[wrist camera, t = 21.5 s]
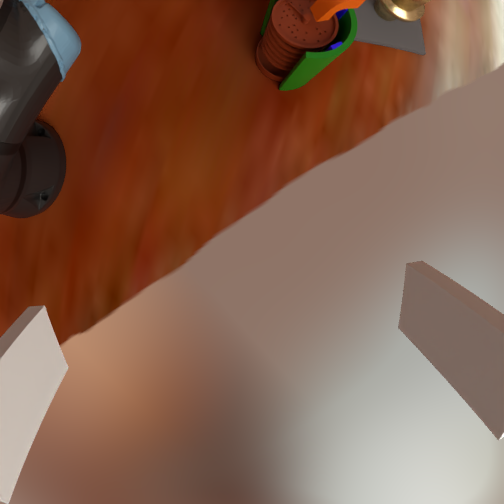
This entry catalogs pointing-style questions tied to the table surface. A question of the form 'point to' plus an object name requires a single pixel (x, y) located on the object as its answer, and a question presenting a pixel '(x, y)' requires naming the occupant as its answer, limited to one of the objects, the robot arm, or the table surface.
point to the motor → (304, 38)
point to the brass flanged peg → (400, 9)
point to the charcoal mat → (388, 30)
